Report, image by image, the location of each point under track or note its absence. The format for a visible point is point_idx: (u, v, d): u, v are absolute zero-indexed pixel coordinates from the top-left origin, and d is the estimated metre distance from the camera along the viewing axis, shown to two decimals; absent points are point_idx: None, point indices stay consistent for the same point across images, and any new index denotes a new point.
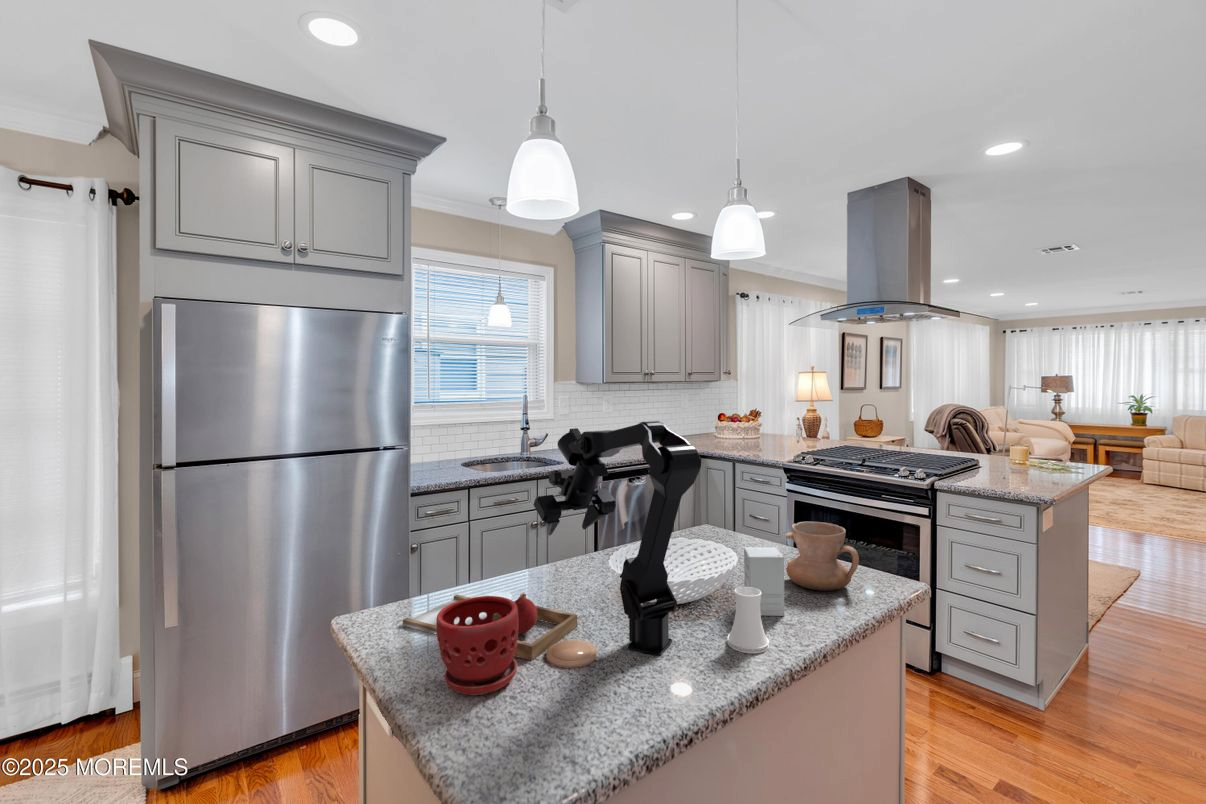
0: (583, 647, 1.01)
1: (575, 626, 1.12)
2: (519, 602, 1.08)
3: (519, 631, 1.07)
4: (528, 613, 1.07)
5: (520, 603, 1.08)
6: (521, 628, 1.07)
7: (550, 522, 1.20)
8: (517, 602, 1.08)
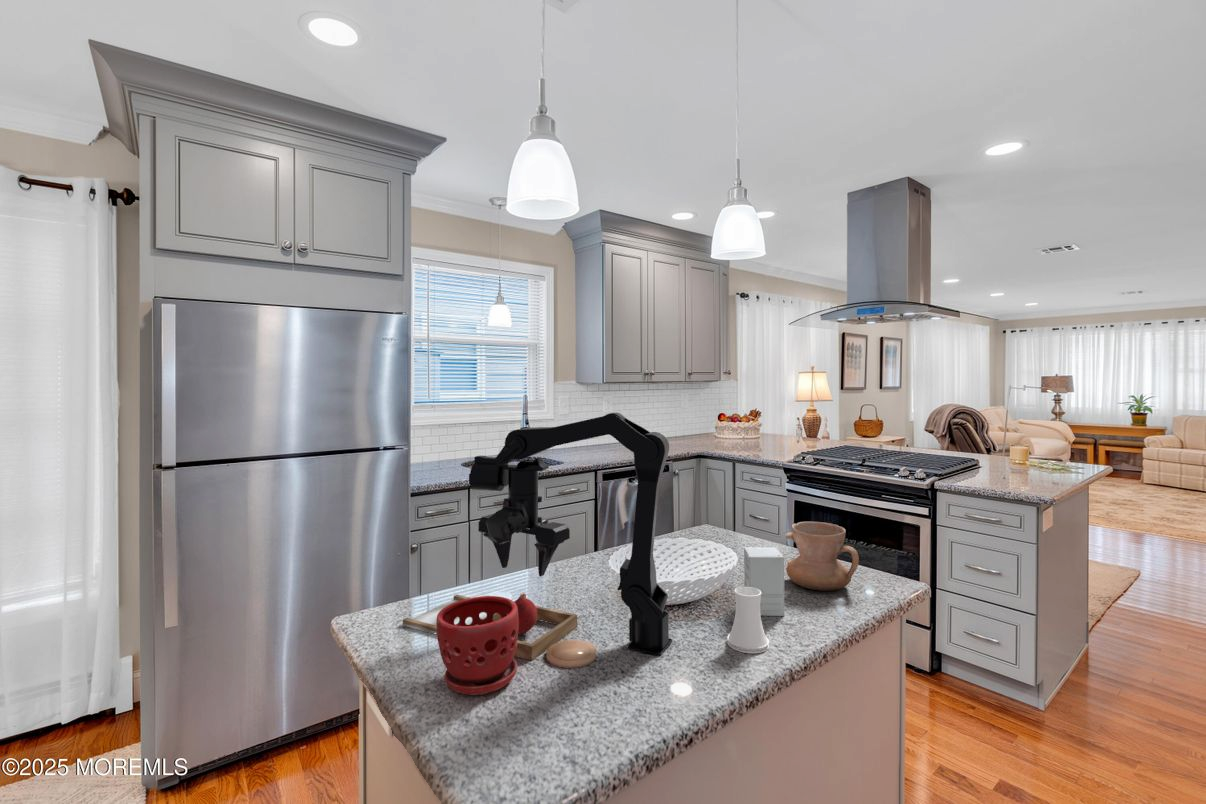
0: (583, 647, 1.01)
1: (575, 626, 1.12)
2: (519, 602, 1.08)
3: (519, 631, 1.07)
4: (528, 613, 1.07)
5: (520, 603, 1.08)
6: (521, 628, 1.07)
7: None
8: (517, 602, 1.08)
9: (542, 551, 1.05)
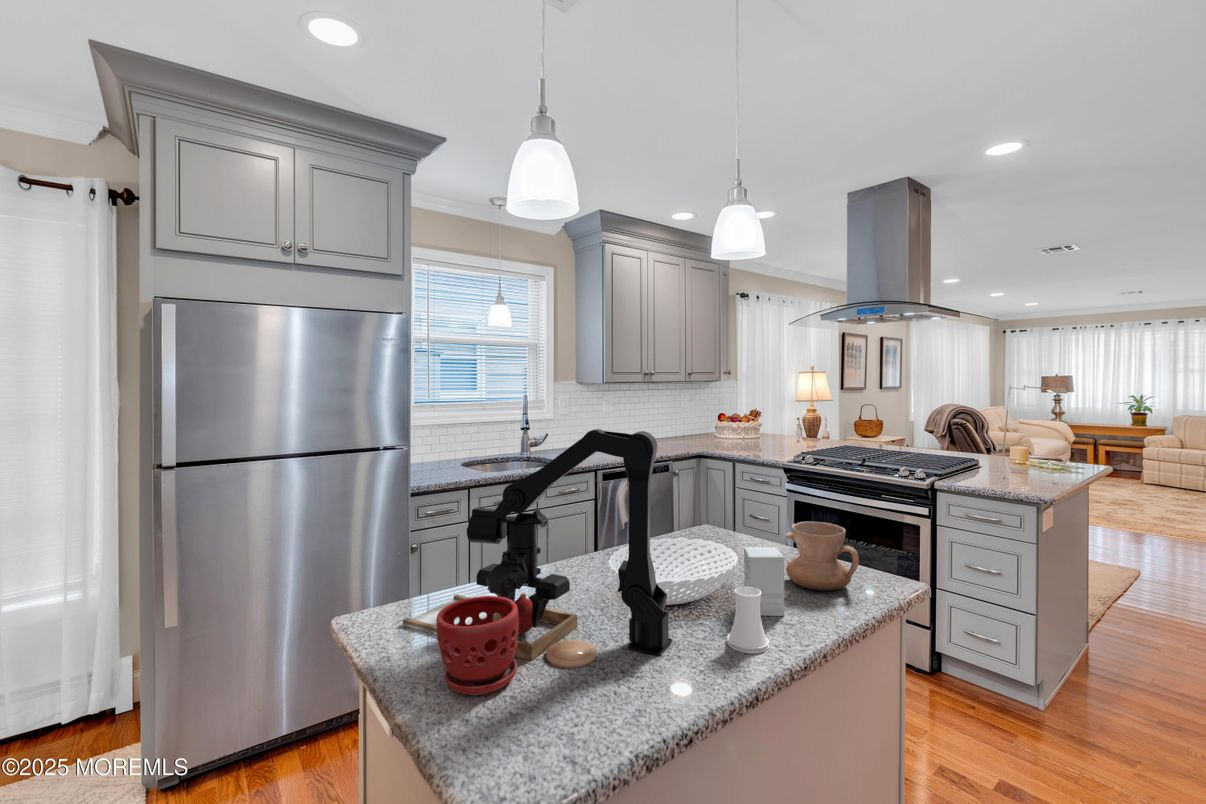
0: (583, 647, 1.01)
1: (575, 626, 1.12)
2: (519, 602, 1.08)
3: (519, 631, 1.07)
4: (528, 613, 1.07)
5: (520, 603, 1.08)
6: (521, 628, 1.07)
7: None
8: (517, 602, 1.08)
9: (536, 603, 1.05)
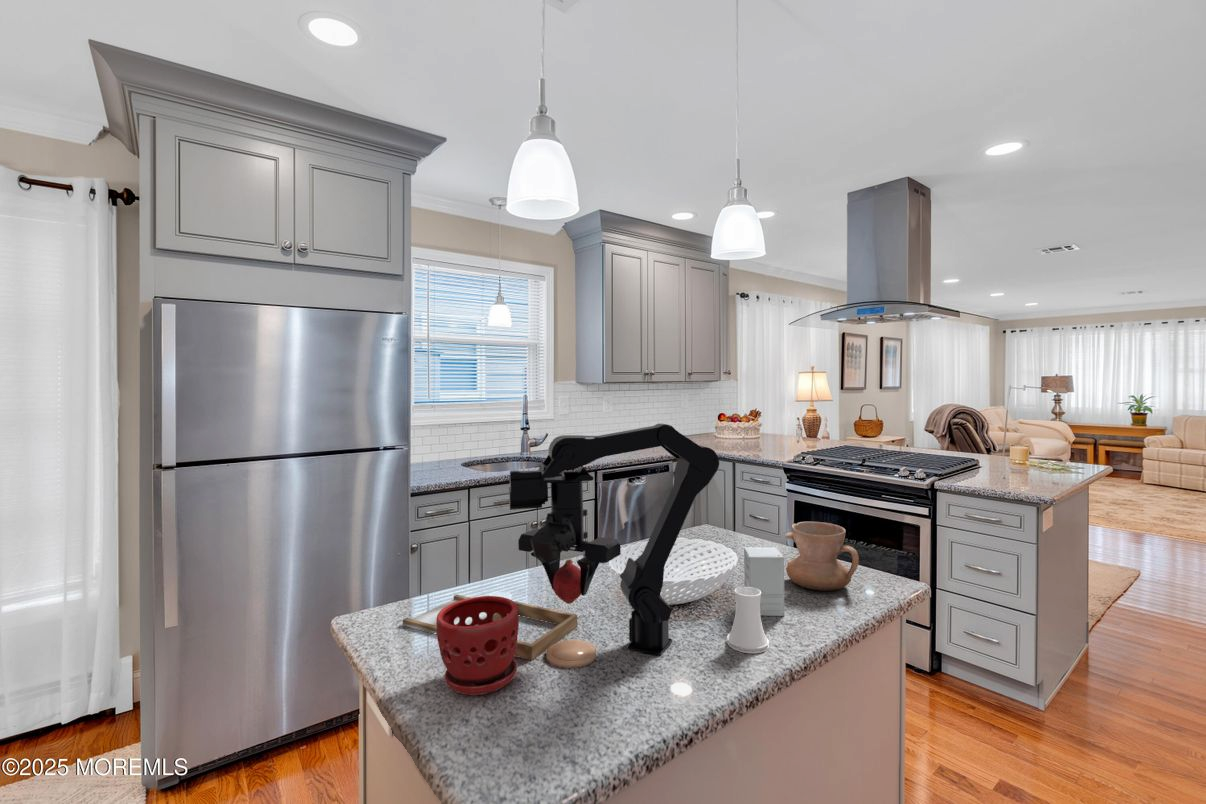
0: (583, 647, 1.01)
1: (575, 626, 1.12)
2: (565, 568, 0.99)
3: (566, 599, 0.99)
4: (575, 580, 0.98)
5: (566, 569, 0.99)
6: (569, 596, 0.98)
7: None
8: (563, 568, 1.00)
9: (585, 568, 0.97)
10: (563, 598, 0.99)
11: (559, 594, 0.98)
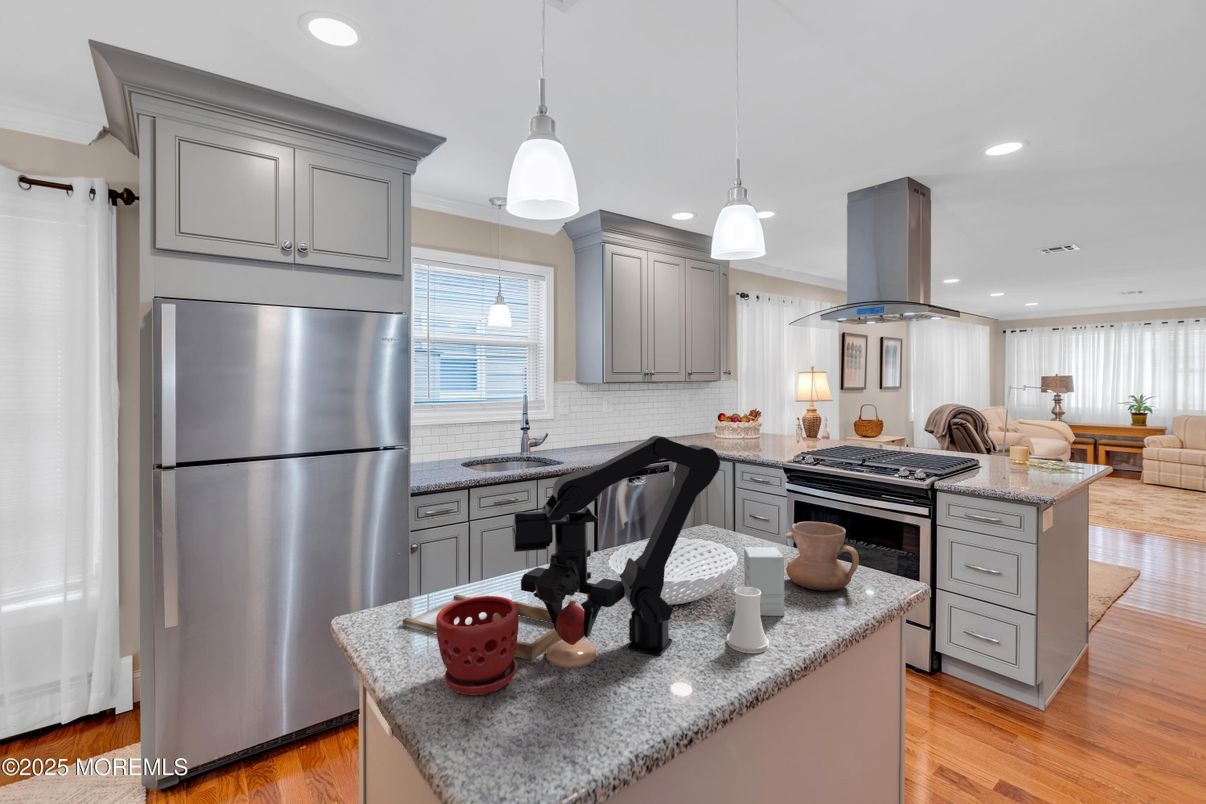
0: (583, 647, 1.01)
1: None
2: (568, 610, 0.99)
3: (569, 641, 0.98)
4: (579, 622, 0.98)
5: (570, 611, 0.99)
6: (572, 638, 0.98)
7: None
8: (566, 610, 0.99)
9: (589, 611, 0.97)
10: (566, 640, 0.98)
11: (562, 636, 0.98)
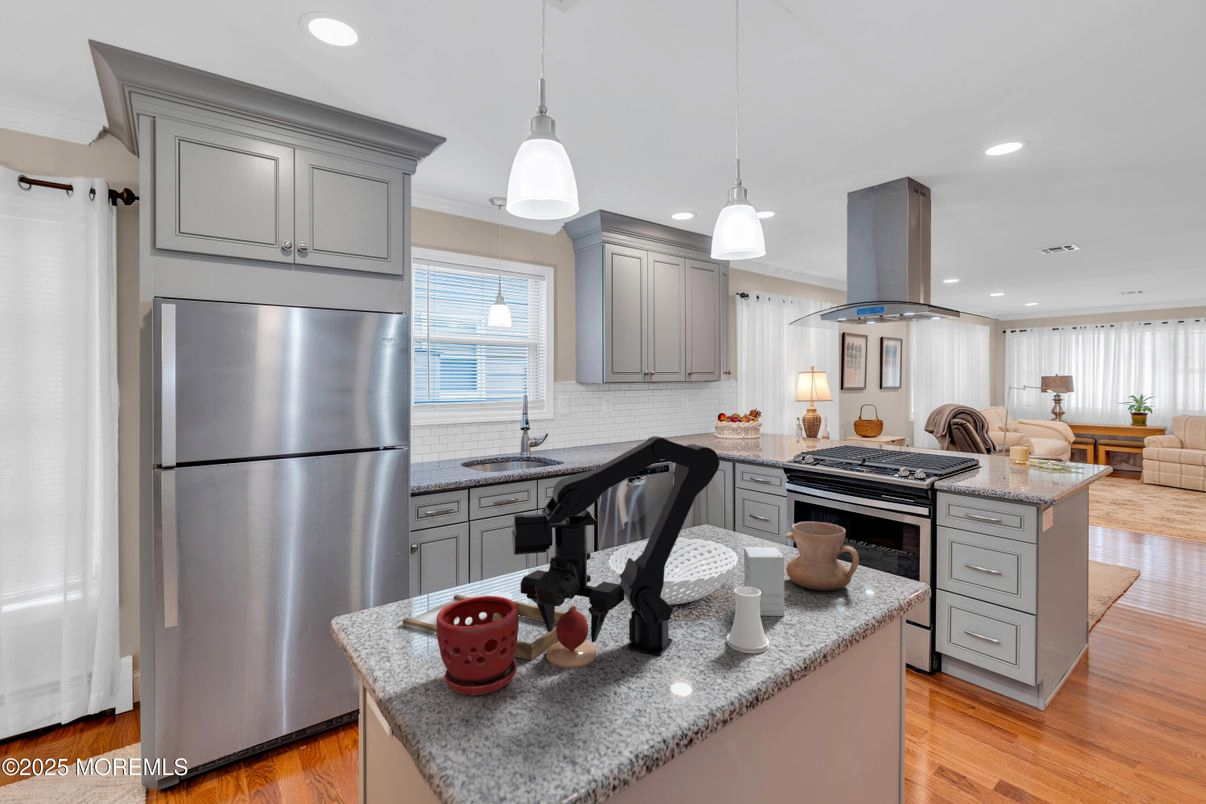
0: (583, 647, 1.01)
1: None
2: (569, 615, 0.99)
3: (569, 647, 0.98)
4: (579, 627, 0.98)
5: (571, 616, 0.99)
6: (572, 644, 0.98)
7: None
8: (567, 615, 0.99)
9: (596, 616, 0.96)
10: (566, 645, 0.98)
11: (563, 641, 0.98)
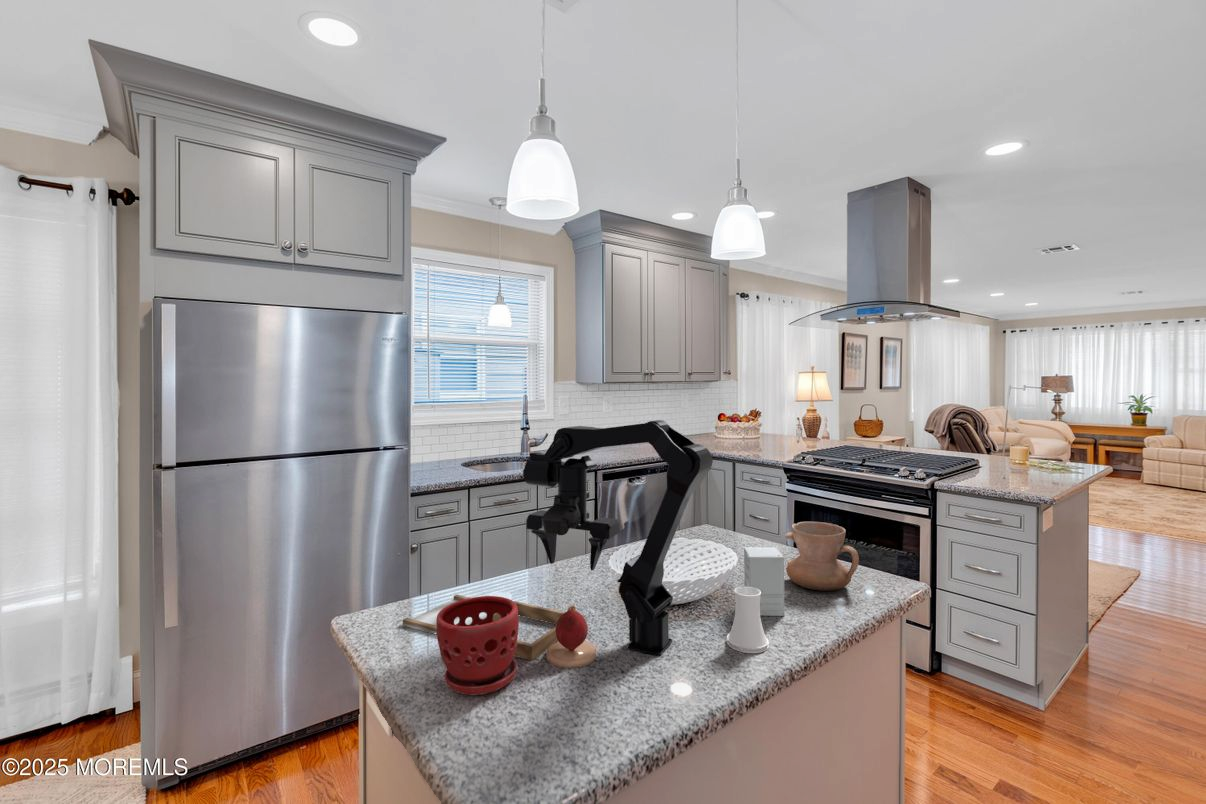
0: (583, 647, 1.01)
1: None
2: (568, 615, 0.99)
3: (569, 647, 0.98)
4: (579, 627, 0.98)
5: (570, 616, 0.99)
6: (572, 644, 0.98)
7: None
8: (566, 615, 0.99)
9: (595, 545, 1.08)
10: (566, 646, 0.98)
11: (562, 641, 0.98)
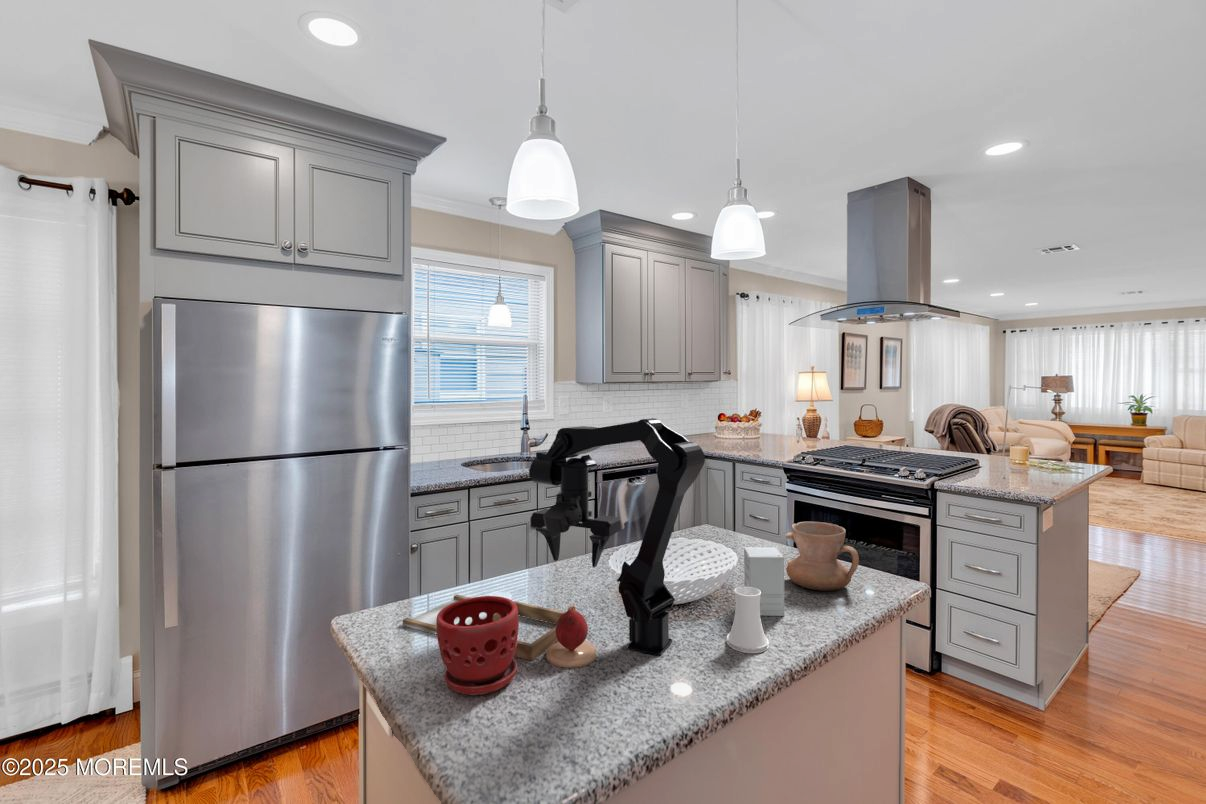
0: (583, 647, 1.01)
1: None
2: (568, 615, 0.99)
3: (569, 647, 0.98)
4: (579, 627, 0.98)
5: (570, 616, 0.99)
6: (572, 644, 0.98)
7: None
8: (566, 615, 0.99)
9: (596, 543, 1.10)
10: (566, 646, 0.98)
11: (562, 641, 0.98)
